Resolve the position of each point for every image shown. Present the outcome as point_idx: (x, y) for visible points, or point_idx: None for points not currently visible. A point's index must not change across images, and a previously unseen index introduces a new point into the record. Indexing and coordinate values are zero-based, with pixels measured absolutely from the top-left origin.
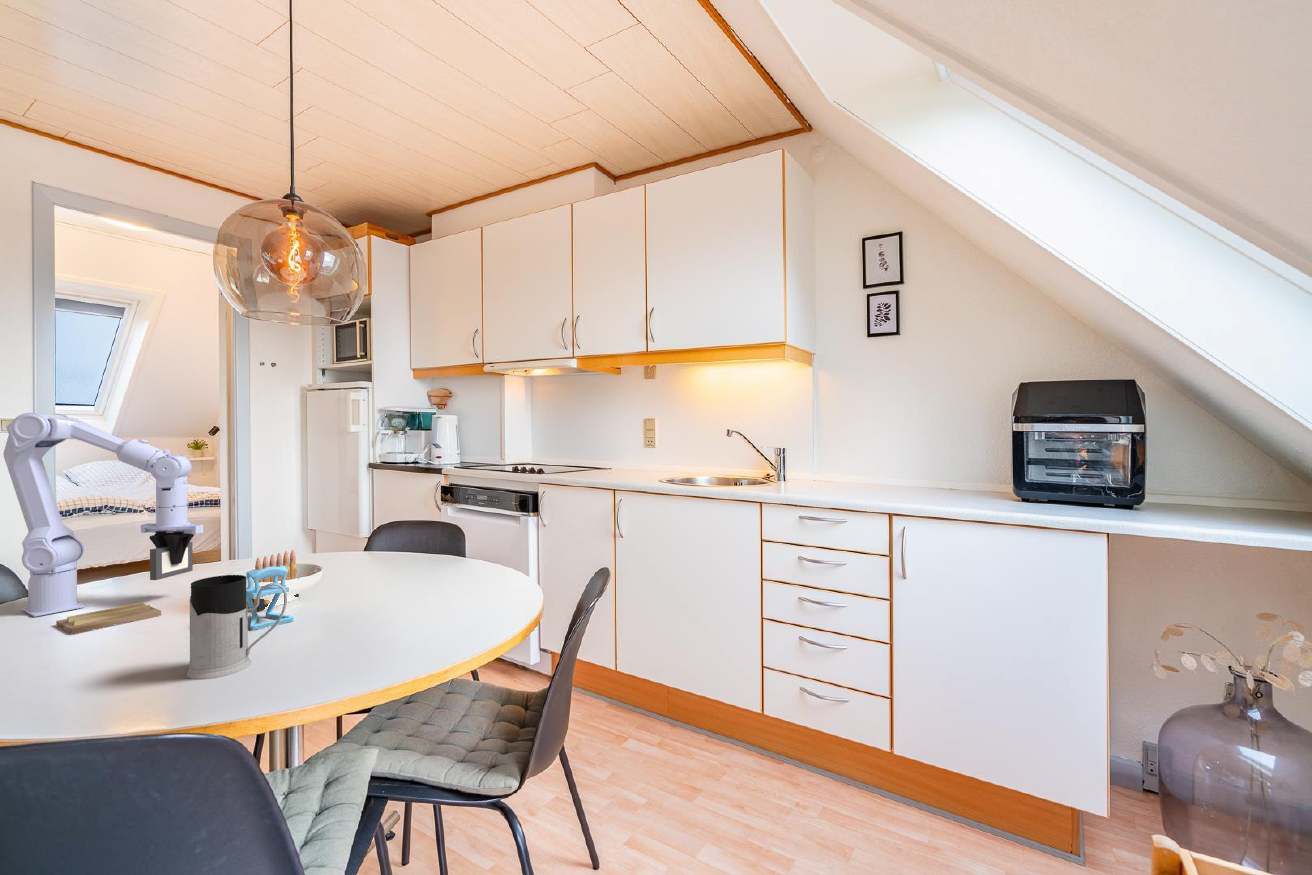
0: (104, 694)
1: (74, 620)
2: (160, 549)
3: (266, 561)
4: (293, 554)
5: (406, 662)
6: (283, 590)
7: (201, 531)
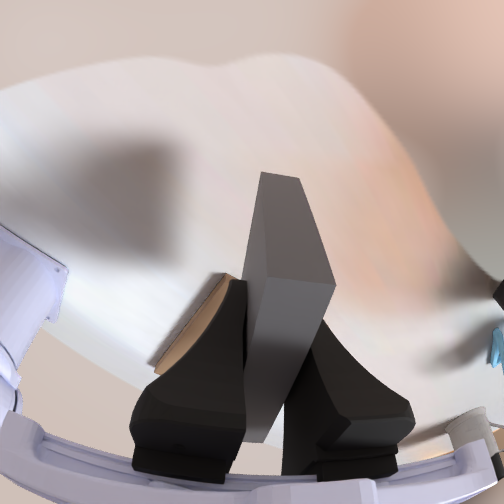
0: (400, 452)
1: None
2: (267, 430)
3: None
4: None
5: None
6: None
7: (478, 453)
